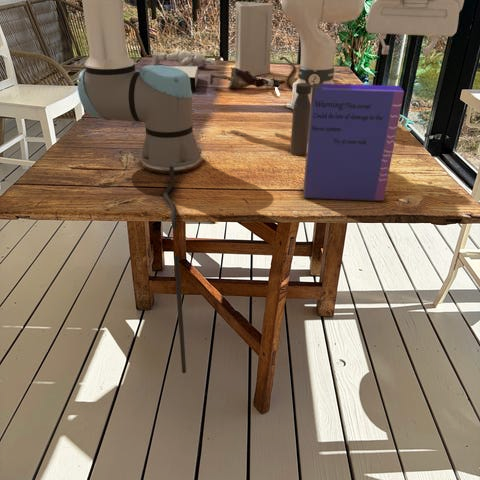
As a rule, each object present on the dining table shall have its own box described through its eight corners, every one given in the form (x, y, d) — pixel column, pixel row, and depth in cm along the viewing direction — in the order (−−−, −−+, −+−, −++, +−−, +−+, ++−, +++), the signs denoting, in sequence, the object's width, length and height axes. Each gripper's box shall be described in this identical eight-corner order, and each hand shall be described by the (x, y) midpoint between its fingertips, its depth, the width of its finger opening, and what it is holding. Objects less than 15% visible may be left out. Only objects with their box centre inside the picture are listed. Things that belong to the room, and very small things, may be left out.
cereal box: (379, 191, 109) (398, 84, 97) (383, 201, 105) (404, 90, 93) (303, 188, 110) (312, 82, 98) (304, 197, 106) (314, 88, 94)
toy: (171, 74, 211) (170, 58, 208) (148, 64, 229) (146, 49, 225) (218, 68, 223) (218, 53, 219) (192, 59, 240) (192, 44, 237)
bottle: (308, 150, 132) (315, 85, 123) (303, 156, 129) (309, 89, 119) (293, 148, 134) (298, 83, 125) (287, 153, 130) (292, 87, 121)
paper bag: (273, 76, 210) (276, 6, 196) (239, 77, 209) (240, 6, 194) (266, 67, 226) (268, 2, 212) (235, 67, 225) (235, 1, 210)
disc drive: (150, 90, 186) (149, 77, 184) (157, 77, 206) (156, 65, 203) (195, 90, 187) (195, 77, 184) (198, 77, 206) (198, 65, 203)
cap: (312, 91, 124) (313, 83, 123) (308, 95, 121) (308, 87, 120) (298, 90, 125) (299, 82, 124) (293, 93, 122) (294, 85, 121)
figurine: (210, 87, 179) (288, 95, 182) (212, 65, 176) (291, 73, 180) (208, 84, 201) (278, 91, 205) (210, 64, 198) (280, 71, 202)
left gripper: (214, -58, 143) (215, 20, 153) (135, -59, 146) (141, 17, 157) (207, -58, 136) (209, 23, 147) (125, -59, 140) (133, 20, 151)
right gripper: (463, -10, 107) (449, 55, 114) (370, -13, 111) (362, 50, 118) (468, -9, 102) (453, 59, 109) (371, -11, 106) (362, 54, 113)
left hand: (174, 20), depth 152 cm, fingers open, 13 cm apart
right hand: (405, 55), depth 114 cm, fingers open, 8 cm apart
